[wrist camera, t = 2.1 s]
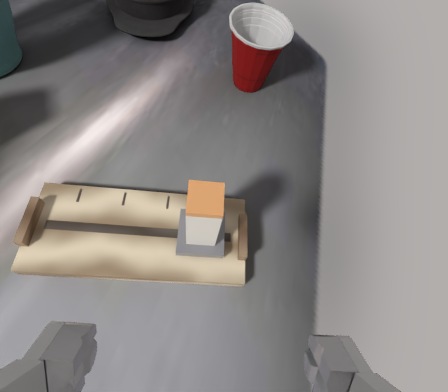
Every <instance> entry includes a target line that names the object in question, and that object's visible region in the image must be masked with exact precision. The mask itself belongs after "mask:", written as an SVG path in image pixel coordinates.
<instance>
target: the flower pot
mask: <svg viewBox="0 0 448 392" xmlns="http://www.w3.org/2000/svg"><path fill="white" fill-rule="evenodd" d="M21 59H22V50H21V48H20V46H19V44H18V41H17V37H16V32H15V27H14V21H13V15H12V11H11V8H10V4H9V1H8V0H0V77H1V76H3V75H6V74H7V73H9V72H11V71H12V70H13V69H15V68H16V67H17V66H18V64H19V63H20V61H21Z"/></svg>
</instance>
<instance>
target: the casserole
mask: <svg viewBox="0 0 448 392" xmlns="http://www.w3.org/2000/svg"><path fill="white" fill-rule="evenodd" d="M106 3H107V7H108V8H109V10H110V12H111V14H112V15H113V19H114V23H115V26H116V27H117V28H118V29H119V30H121V31H123V32H125V33H128V34H132V35H136V36H142V37H161V36H166V35H169V34H171V33H173V32H174V31H175V30H176V28H177V27H178V25H179V24H180V23H181V22H182V21H183V20H184V19H186V18H187V17H188V16H189V15H190V13H191V12H192V9H193V1H192V0H106Z"/></svg>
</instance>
